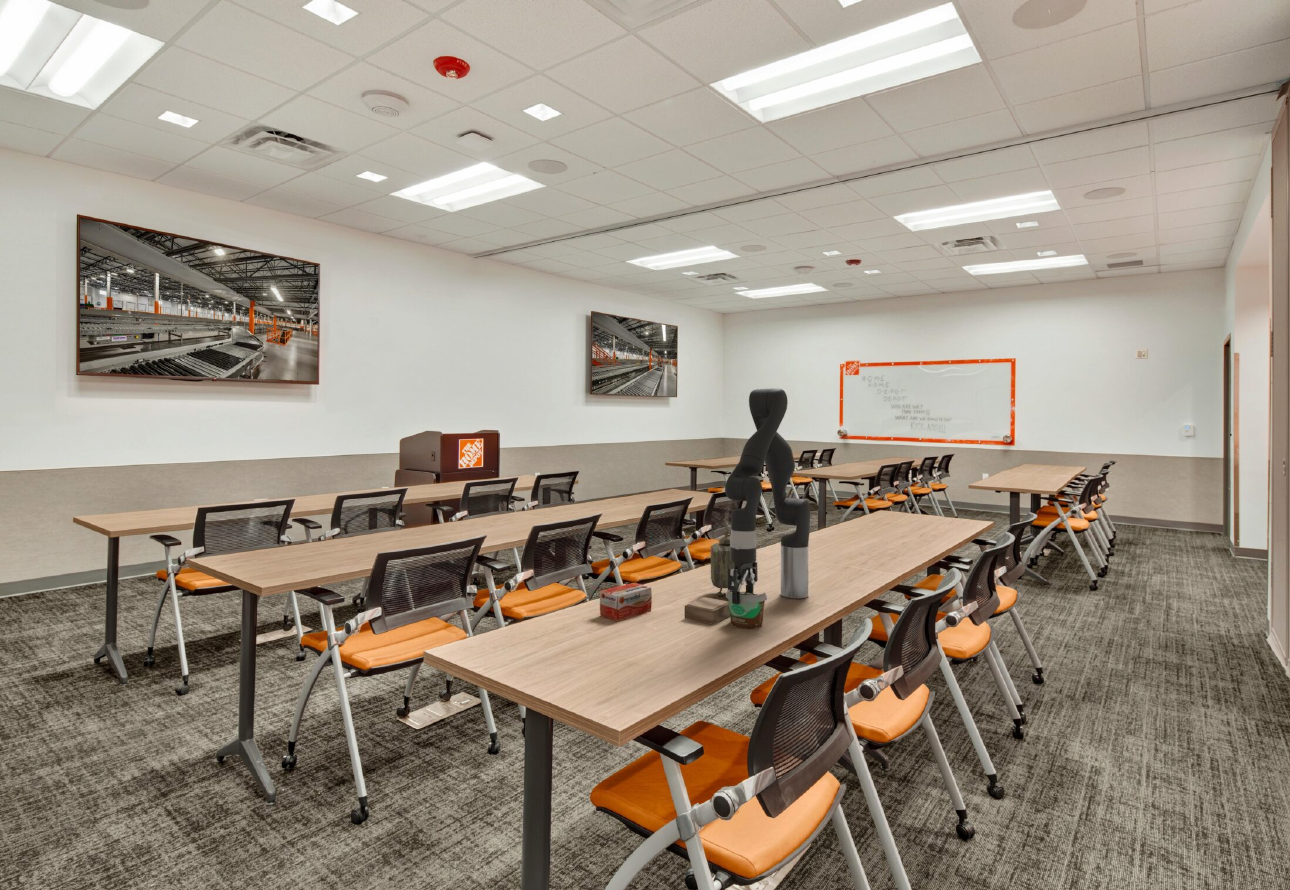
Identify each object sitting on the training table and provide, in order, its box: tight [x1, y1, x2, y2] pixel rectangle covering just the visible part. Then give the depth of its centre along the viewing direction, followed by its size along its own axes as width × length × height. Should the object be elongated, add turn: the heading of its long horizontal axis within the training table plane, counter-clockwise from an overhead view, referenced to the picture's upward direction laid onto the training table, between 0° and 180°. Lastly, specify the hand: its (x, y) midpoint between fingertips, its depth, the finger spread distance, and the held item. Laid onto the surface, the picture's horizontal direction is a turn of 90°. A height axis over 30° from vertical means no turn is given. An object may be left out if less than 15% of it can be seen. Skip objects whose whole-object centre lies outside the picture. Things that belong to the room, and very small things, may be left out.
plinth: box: [684, 596, 730, 625], centre depth 199 cm, size 11×10×4 cm
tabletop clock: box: [710, 522, 738, 597], centre depth 222 cm, size 14×9×25 cm, turn 179°
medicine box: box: [599, 582, 653, 622], centre depth 203 cm, size 15×8×8 cm, turn 135°
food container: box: [725, 589, 768, 630], centre depth 189 cm, size 12×6×10 cm, turn 62°
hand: (742, 600), depth 189 cm, fingers open, 8 cm apart
